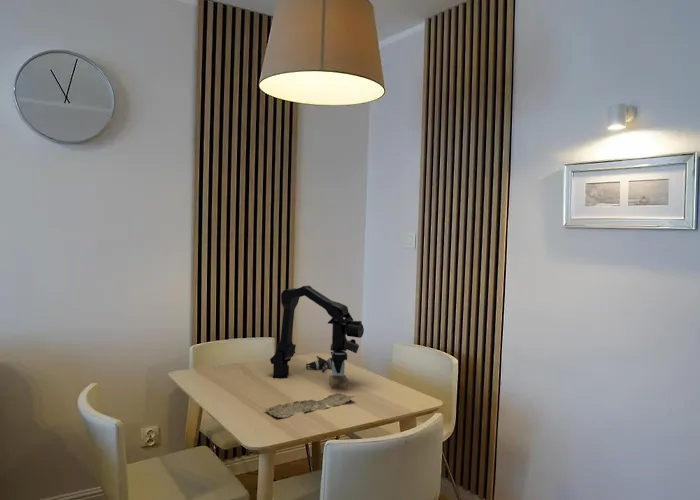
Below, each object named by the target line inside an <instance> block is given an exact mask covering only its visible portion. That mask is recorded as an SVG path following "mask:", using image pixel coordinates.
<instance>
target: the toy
mask: <svg viewBox="0 0 700 500" xmlns="http://www.w3.org/2000/svg"><path fill="white" fill-rule="evenodd" d="M332 361H333V360H332V357H329V358H328V359H324V358H322V357H320V356H318V355H317V356H316V360H314V361H312V362H309V363H305V368H306V370H309V368H310V369H314V370H316V371H320V370H322V371H321V372H322V373H324V372H325V370H326V369H330V370H332ZM326 367H327V368H326Z"/></svg>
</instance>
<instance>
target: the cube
mask: <svg viewBox="0 0 700 500" xmlns="http://www.w3.org/2000/svg"><path fill="white" fill-rule="evenodd" d="M345 363H346V362H345V360H344V361H343V362H342V366H341V370H340V373H337V372H336V369H335V366H334V363H333V361H332V369H331V375H338V376H344V375H345V367H346V366H345Z"/></svg>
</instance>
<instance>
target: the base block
mask: <svg viewBox="0 0 700 500" xmlns="http://www.w3.org/2000/svg"><path fill="white" fill-rule="evenodd" d="M328 381H329V382H328V385H329V387H330V388H331V390H344V389H345V390H347V389H349V383H350V382H349V379H348V377H347V375H345V374H344V376H338V375H332V374H331V375H329V376H328Z"/></svg>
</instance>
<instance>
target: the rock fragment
mask: <svg viewBox="0 0 700 500" xmlns="http://www.w3.org/2000/svg"><path fill="white" fill-rule="evenodd" d="M352 398H355V396H354V395H353V396H352V395H346V394H343V393H335V394H330V395H328V396H327V397H325V398H323V399H320V400H314V399H309V400H306V399H305V400H301V401H298V400H296V401H293V402H290V403H289V402H287V403H284V404H280V403H279V404H277V405H274V406H270V407H268V408H264V410H265V412H267V413H268V414H269V415H270V416H274V417H276V418H281V419H283V418H289V417H291V416H295V414H298V413H302V414H305V413H306V412H312V411H313V412H317V411H318V410H319V411H322V410H326V409H329V408H333V407H335V406H343V405H345V404H346V403H348V402H349V401H350V400H351V399H352ZM327 405H328V406H327Z"/></svg>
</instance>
